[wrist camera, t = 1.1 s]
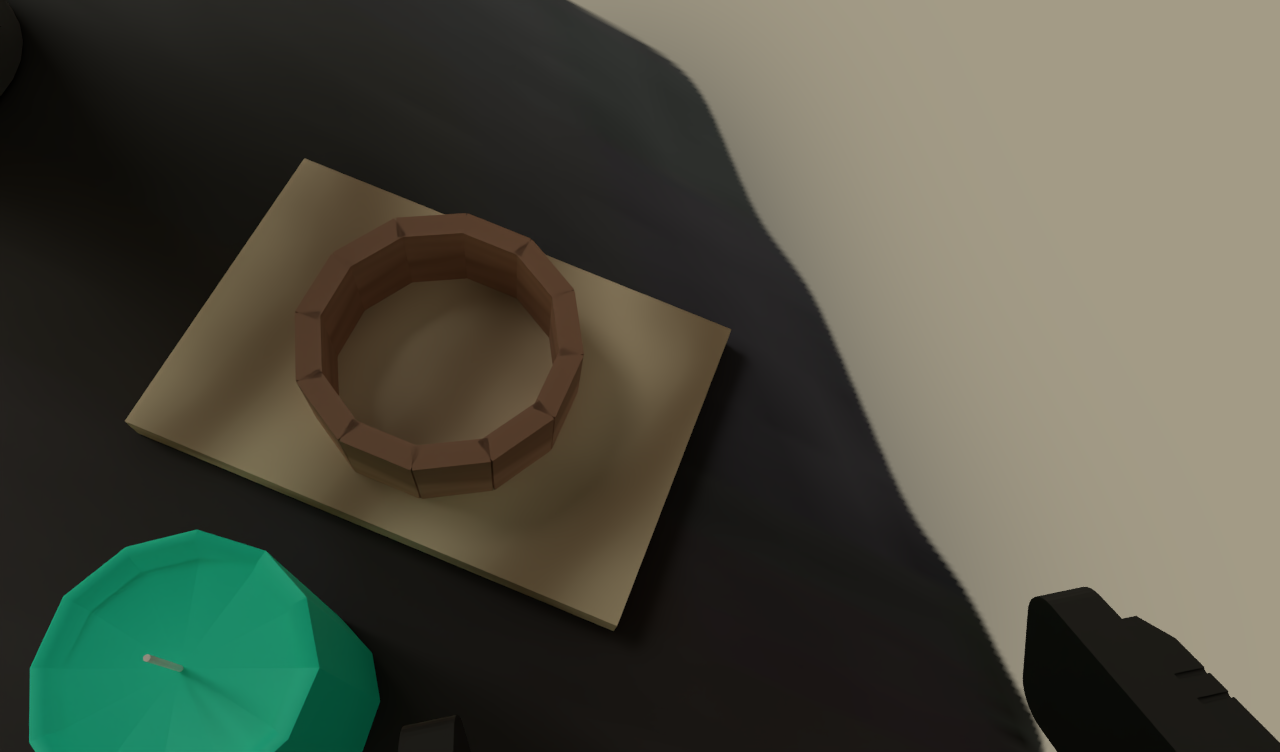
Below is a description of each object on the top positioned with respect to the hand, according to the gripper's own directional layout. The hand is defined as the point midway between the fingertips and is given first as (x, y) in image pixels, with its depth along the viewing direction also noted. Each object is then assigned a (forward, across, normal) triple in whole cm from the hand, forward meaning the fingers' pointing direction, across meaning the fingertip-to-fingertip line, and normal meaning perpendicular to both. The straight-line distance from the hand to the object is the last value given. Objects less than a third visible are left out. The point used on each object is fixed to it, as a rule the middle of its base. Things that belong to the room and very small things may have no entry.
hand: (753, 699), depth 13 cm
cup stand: (+22, +6, +5) cm, 24 cm away
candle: (+15, +12, +11) cm, 22 cm away
